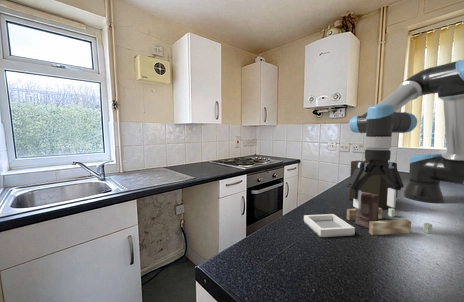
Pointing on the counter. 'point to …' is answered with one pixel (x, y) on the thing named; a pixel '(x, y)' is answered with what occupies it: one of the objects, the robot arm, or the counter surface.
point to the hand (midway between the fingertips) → (373, 207)
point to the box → (367, 209)
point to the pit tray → (329, 225)
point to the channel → (384, 224)
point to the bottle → (373, 186)
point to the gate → (427, 226)
